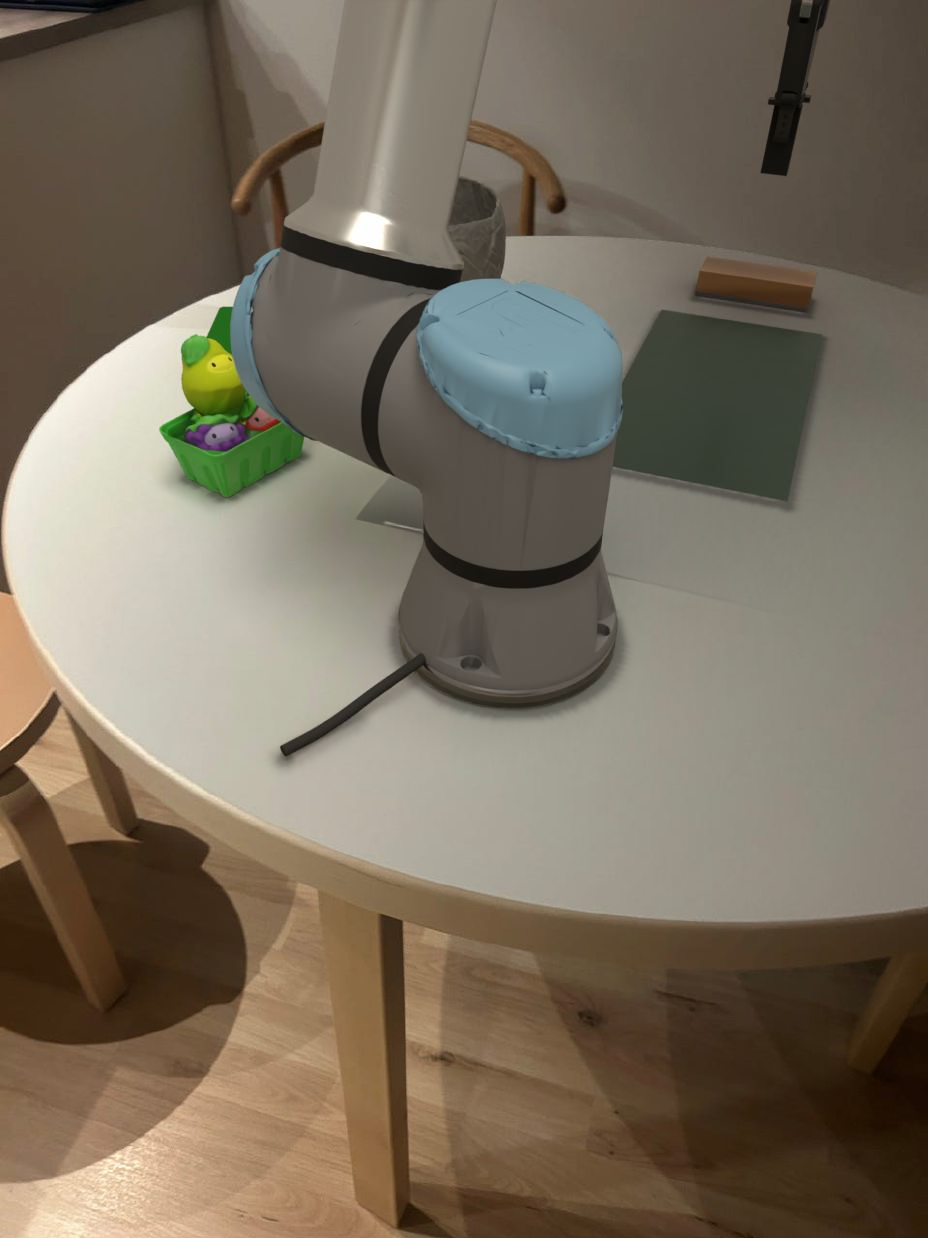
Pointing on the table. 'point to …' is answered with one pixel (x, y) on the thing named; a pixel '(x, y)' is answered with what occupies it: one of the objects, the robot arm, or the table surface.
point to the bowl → (478, 230)
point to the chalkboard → (717, 403)
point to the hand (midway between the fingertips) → (774, 172)
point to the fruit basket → (224, 424)
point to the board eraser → (756, 284)
